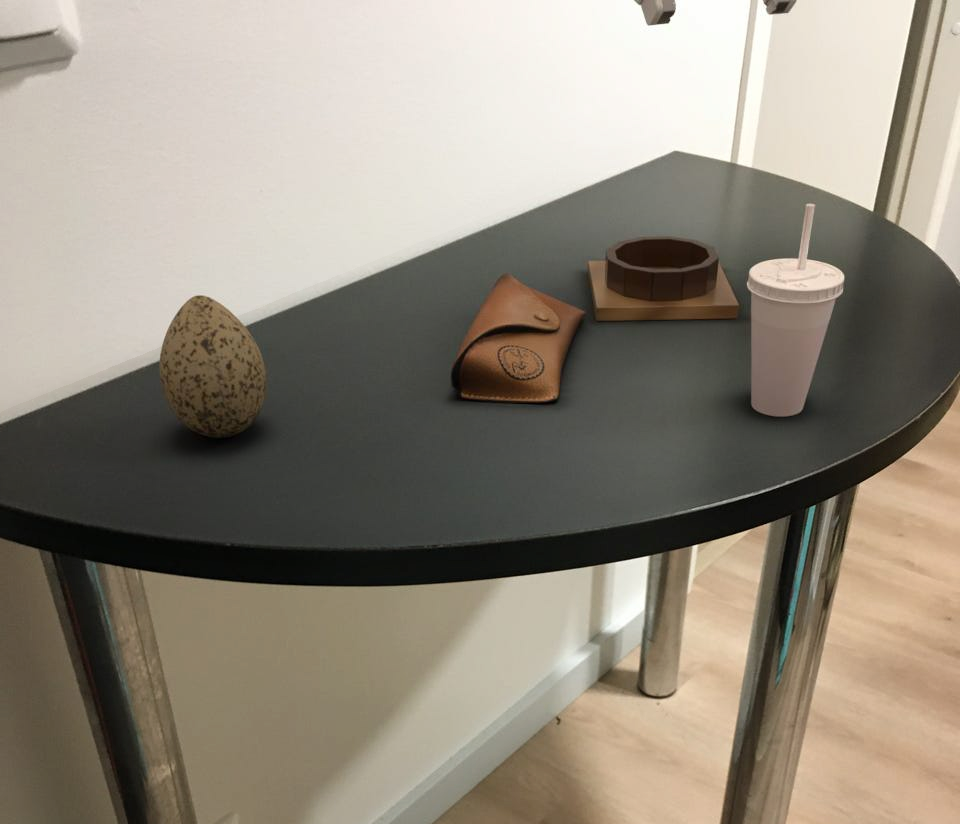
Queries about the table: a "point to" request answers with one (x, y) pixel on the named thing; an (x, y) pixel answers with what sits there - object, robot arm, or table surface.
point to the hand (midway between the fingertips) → (724, 13)
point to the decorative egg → (212, 370)
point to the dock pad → (660, 281)
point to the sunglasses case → (515, 346)
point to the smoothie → (789, 325)
